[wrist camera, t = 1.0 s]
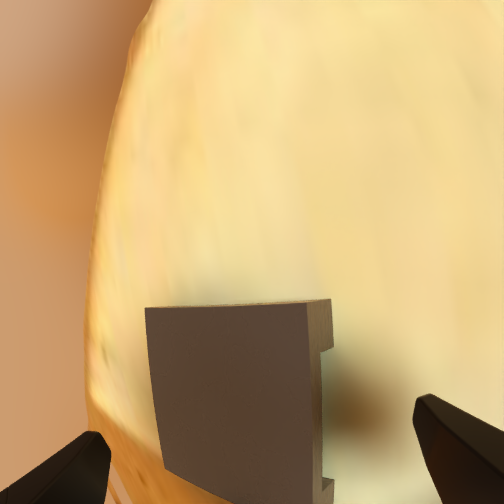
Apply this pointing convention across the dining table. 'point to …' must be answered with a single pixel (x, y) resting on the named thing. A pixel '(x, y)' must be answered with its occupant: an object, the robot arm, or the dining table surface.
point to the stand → (242, 397)
